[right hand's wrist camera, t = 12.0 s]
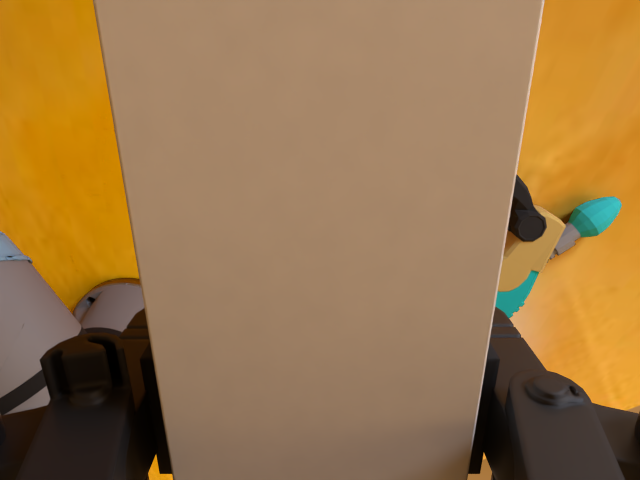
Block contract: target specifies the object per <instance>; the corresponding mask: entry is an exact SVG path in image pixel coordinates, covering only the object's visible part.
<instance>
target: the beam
mask: <svg viewBox="0 0 640 480" xmlns="http://www.w3.org/2000/svg"><path fill="white" fill-rule="evenodd" d="M93 3H94V9H95V15H96V21H97V27H98V33H99V39H100V45H101V51H102V57H103V63H104V69H105V75H106V81H107V87H108V93H109V99H110V105H111V111H112V116H113V122H114V128H115V134H116V140H117V146H118V152H119V158H120V164H121V170H122V176H123V182H124V188H125V194H126V200H127V206H128V212H129V218H130V224H131V230H132V236H133V242H134V248H135V254H136V260H137V266H138V272H139V278H140V284H141V290H142V296H143V302H144V308H145V314H146V320H147V325H148V331H149V337H150V343H151V349H152V355H153V361H154V367H155V373H156V379H157V385H158V391H159V397H160V403H161V409H162V415H163V421H164V427H165V433H166V439H167V445H168V451H169V457H170V463H171V469H172V475H173V480H467V477H468V471H469V465H470V458H471V452H472V446H473V440H474V434H475V427H476V421H477V415H478V409H479V403H480V397H481V390H482V384H483V378H484V372H485V366H486V359H487V353H488V347H489V341H490V335H491V328H492V322H493V316H494V310H495V304H496V297H497V291H498V285H499V279H500V273H501V267H502V260H503V254H504V248H505V242H506V236H507V229H508V223H509V217H510V211H511V205H512V198H513V192H514V186H515V180H516V174H517V168H518V161H519V155H520V149H521V143H522V137H523V130H524V124H525V118H526V112H527V106H528V99H529V93H530V87H531V81H532V75H533V69H534V62H535V56H536V50H537V44H538V38H539V31H540V25H541V19H542V13H543V7H544V0H93Z"/></svg>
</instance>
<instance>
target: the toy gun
mask: <svg viewBox="0 0 640 480" xmlns="http://www.w3.org/2000/svg"><path fill="white" fill-rule="evenodd" d="M621 206H622V204H621V201H620V199H618V198H616V197H603V198H599V199H595V200H591V201H588V202H585V203H583V204H581V205H579V206H578V207H576V208H575V209H574V211H573V213H572V214H571V216H570V219H569V221H568V223H566V224H564V223H563V222H562V221H561V220H560V219H559V218H557V217H556V216H554V215H553V214H551V213H550V212H548V211H547V210H545V209H544V208H542V207H540V206H537V205H533V203H532V199H531V196H530V193H529V191H528V188H527V186H526V185H525V184H524V183H523V181H522V180H521V179H520V178H519V176H518V175H517V174H516V180H515V186H514V192H513V198H512V205H511V211H510V217H509V223H508V229H507V230H508V231H507V236H506V242H505V248H504V254H503V260H502V267H501V273H500V279H499V285H498V291H497V297H496V304H495V306H496V307H497V308H499V309H500V310H502V311H503V312H505V314H506V315H507V317H508V318H510V317H512V316H513V313H514V312H517V311H518V310H519V307H520V306H521V307H522V306H523V305H524V301H525V299H526V298H527V296H528V295H529V293H530V291H531V289H532V287H533V285H534V282H535V280H536V278H537V276H538V274H539V272H541V273H542V271H543V269H544V267H545V266H546V264H547V263H548V260H549V259H550V260H551V259H552V258H554V257H555V256H554V255H555V254H557V255H558V256H559V255H560V254H562V253H563V252H565V251H566V250H568V249H569V248H571V247H572V246H574V245H575V242H574V241H575V240H577V239H578V238H580V237H591V236H597V235H599V234H600V233H601V232H603V231H604V230H605V229H606V228H608V226H609V225H610V224H611V223H612V222H613V220H614V219H615V218H616V216H617V215H618V213H619V211H620V208H621Z"/></svg>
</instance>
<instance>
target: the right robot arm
mask: <svg viewBox="0 0 640 480" xmlns="http://www.w3.org/2000/svg"><path fill="white" fill-rule="evenodd" d="M483 453H485V456H486V458H487V461H488V463H489V465H490V468H491V470H492V476H491V480H640V412H639V414H638V413H633V412H628V411H624V410H619V409H615V408H610V407H605V406H601V405H598V404H594V403H592V402H591V400H590V398H589V397H588V395H587V394H586V393H585V391H584V390H583V389H582V388H581V387H580V386H578V385H577V384H576V383H574V382H573V381H572V380H570V379H568V378H566V377H564V376H562V375H559V374H557V373H554V372H550V371H547V370H546V369H545V368H544V366H543V365H542V363H541V362H540V361H539V359H538V358H537V357H536V355H535V354H534V352H533V351H532V350H531V348H530V347H529V346H528V344H527V343H526V341H525V340H524V339H523V338H521V335H520V333H519V332H518V330H517V329H516V328H515V327H513V324H512V322H511V321H510V319H509V318H508V317H507V315H506V314H505V312H503V311H502V310H500V309H499V308H497V307H496V306H495V310H494V316H493V322H492V328H491V335H490V341H489V347H488V353H487V359H486V366H485V372H484V378H483V384H482V390H481V397H480V403H479V409H478V415H477V421H476V427H475V434H474V440H473V446H472V452H471V458H470V465H469V471H468V474H480V470H481V464H482V459H483ZM155 455H157V461H158V466H159V472H160V474H172V469H171V463H170V457H169V451H168V445H167V439H166V433H165V427H164V421H163V415H162V409H161V403H160V397H159V391H158V385H157V379H156V373H155V367H154V361H153V355H152V349H151V343H150V337H149V331H148V325H147V320H146V314H145V308H144V302H143V296H142V290H141V284H140V279H135V278H118V279H112V280H108V281H105V282H103V283H101V284H99V285H97V286H95V287H94V288H93V289H91V290H90V291H89V292H88V293H87V294H86V295H85V296H84V297H83V298H82V299H81V300H80V301H79V303H78V304H77V305H76V307H75V309H74V311H73V314H72V313H71V312H70V311H69V310H68V308H67V307H66V306H65V305H64V304H63V302H62V301H61V300H60V299H59V297H58V296H57V295H56V294H55V293H54V291H53V290H52V289H51V288H50V286H49V285H48V284H47V283H46V281H45V280H44V279H43V278H42V277H41V275H40V274H39V273H38V272H37V270H36V269H35V268H34V267H33V265H32V260H31V259H30V258H29V257H27V256H25V255H24V254H23V253H22V252H21V251H20V250H19V249H18V248H17V247H16V245H15V244H14V243H13V242H12V241H11V240H10V239H9V238H8V237H7V236H6V235H5V234H4V233H2V232H1V231H0V480H149V476H148V472H149V469H150V467H151V465H152V462H153V460H154V457H155Z"/></svg>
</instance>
